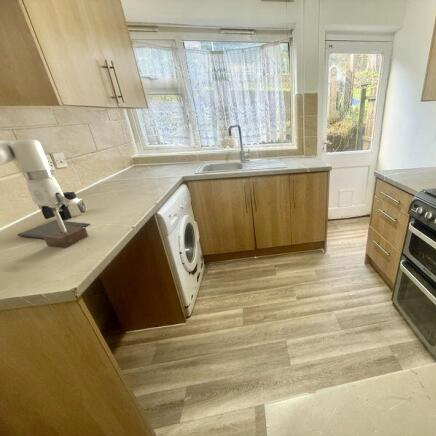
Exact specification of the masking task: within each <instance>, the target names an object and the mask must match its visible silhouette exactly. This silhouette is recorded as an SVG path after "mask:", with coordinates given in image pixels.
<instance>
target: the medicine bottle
mask: <svg viewBox="0 0 436 436" xmlns="http://www.w3.org/2000/svg"><path fill="white" fill-rule="evenodd" d="M63 195H64V197H65V198H66V199H68V200H69V206H68V207H69V209H68V210H69V212H70V214H71V217H72V218H73V217H76V216H77V217H78V216H82V215H84V214H85V213H86V212H87V210H88V209H87V207H86V205H85V203H84V200H83V198H78V196H77V194H76V192H74V191H64V192H63ZM59 206H60V207H61V206H62V204H61V205H59Z"/></svg>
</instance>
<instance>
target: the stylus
mask: <svg viewBox="0 0 436 436" xmlns="http://www.w3.org/2000/svg"><path fill="white" fill-rule="evenodd" d="M51 208H52V211H53V213H54V215H55V219H56V220H57V222H58V224H59V226H60V228H61V230H62V233H66V232H67V230H66V228H65V226H64V224H63V221H62V219H61V217H60V214H59V212H58V211H59V210H58V209H57V207H56V206H52V207H51Z"/></svg>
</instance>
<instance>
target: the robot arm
mask: <svg viewBox="0 0 436 436" xmlns="http://www.w3.org/2000/svg"><path fill="white" fill-rule="evenodd" d="M43 148H44V147H42V144H41V142H40V141H39V140H37V139H33V138H32V139H29V138H28V139H15V140H2V139H0V166H2V165H5V164H8V163H12V162H17V163H18V166H19V167H20V170H21V173H22V174H23V176H24V178H25V181H26V186H27V189H28V193H29V194H30V197H31V199H32V201H33V203H34V205H36V206H38V209H39V210H40V211H41V213H42V215H43V217H44V219H45V220H49V219H51V218H54V217H55V215H54V213H53V211H52V208H53V207H57V210H58V212H59V214H60V217H61V219H62V221H68V220H71V219H72V218H73V216H72V217H71V214H70V212H69V210H68V209H69V207H68V206H69V200H68V199H66V198H65V197H64V195H63V193H64V192H63V190H62V188H61V186H60V185H59V183H58V181H57V179H56V178H55V175H54V172H53V170H52V168H51V165H50V163H49V160H48V158H47V155H46V153H45V151H44V149H43ZM61 204H62V206H61V207H60V205H61ZM55 218H56V217H55Z"/></svg>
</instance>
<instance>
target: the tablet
mask: <svg viewBox="0 0 436 436" xmlns="http://www.w3.org/2000/svg"><path fill="white" fill-rule="evenodd" d="M63 224H64V226H65V227H67V226H73V227H82V228H83V227H85V228H86V226H87V227H89V226H91V225H90V224H91V223H85V222H77V221H68V220H65V221H63ZM88 225H89V226H88ZM59 229H61V228H60V226H59V224H58V222H57V219H56V220H52V221H50V222H46V223H44V224H41V225H38V226H36V227H33V228H30V229H27V230H25V231H23V232H20V233H17V237H24V238H32V239H38V240H39V239H40V240H45V239H44V237H43V236H44V235H47V234H49V233H52V232H54V231H57V230H59Z"/></svg>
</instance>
